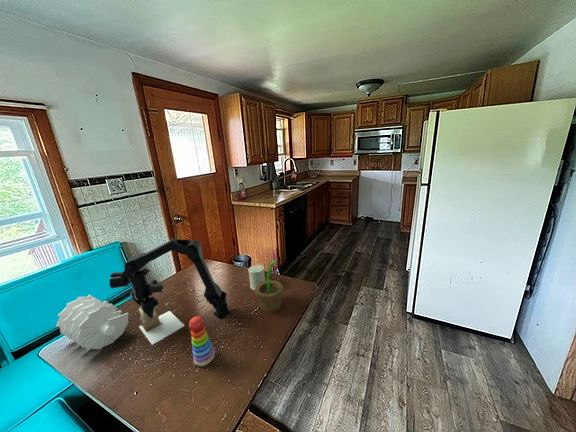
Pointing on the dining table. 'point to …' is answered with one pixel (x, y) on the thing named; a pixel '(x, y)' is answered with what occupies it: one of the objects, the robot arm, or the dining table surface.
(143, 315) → the maple cube
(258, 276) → the can
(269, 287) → the flowerpot
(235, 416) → the dining table surface
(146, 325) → the walnut block
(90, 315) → the spiral staircase
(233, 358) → the dining table surface
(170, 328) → the white board
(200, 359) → the stacking toy
